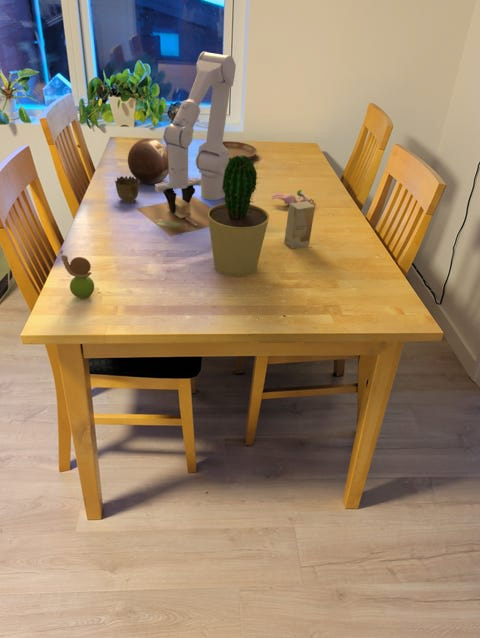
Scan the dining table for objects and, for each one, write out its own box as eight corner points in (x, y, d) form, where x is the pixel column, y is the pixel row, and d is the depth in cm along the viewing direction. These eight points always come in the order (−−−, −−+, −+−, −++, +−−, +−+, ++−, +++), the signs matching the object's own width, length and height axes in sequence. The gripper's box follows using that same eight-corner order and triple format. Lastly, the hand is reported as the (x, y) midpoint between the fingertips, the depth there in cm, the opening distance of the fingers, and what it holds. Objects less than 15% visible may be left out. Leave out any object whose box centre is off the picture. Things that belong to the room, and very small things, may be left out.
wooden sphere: (160, 193, 176) (159, 148, 168) (121, 185, 180) (117, 142, 171) (178, 179, 188) (178, 137, 179) (141, 172, 191) (139, 131, 183)
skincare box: (291, 249, 147) (296, 209, 140) (283, 243, 150) (288, 203, 143) (310, 245, 150) (316, 206, 143) (301, 239, 153) (307, 200, 146)
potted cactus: (245, 287, 129) (253, 169, 112) (195, 268, 135) (195, 154, 118) (274, 263, 140) (286, 152, 123) (227, 247, 146) (232, 139, 129)
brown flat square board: (194, 200, 173) (194, 196, 172) (231, 224, 158) (231, 220, 158) (136, 211, 162) (136, 208, 162) (170, 239, 148) (170, 235, 147)
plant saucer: (256, 166, 205) (257, 158, 203) (204, 163, 204) (205, 155, 202) (256, 150, 222) (256, 142, 220) (208, 147, 221) (208, 140, 219)
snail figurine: (69, 290, 123) (62, 245, 116) (96, 290, 124) (91, 245, 117) (65, 302, 119) (57, 256, 112) (93, 302, 120) (87, 256, 113)
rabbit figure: (310, 206, 178) (268, 198, 175) (315, 189, 175) (273, 181, 172) (314, 213, 173) (271, 205, 170) (319, 196, 170) (276, 188, 167)
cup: (135, 209, 164) (133, 185, 159) (113, 206, 165) (111, 182, 160) (143, 201, 170) (142, 177, 165) (122, 198, 171) (120, 174, 166)
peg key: (178, 208, 164) (178, 195, 161) (202, 225, 154) (203, 212, 152) (166, 210, 161) (166, 198, 159) (190, 228, 152) (190, 215, 149)
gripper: (161, 175, 145) (163, 219, 153) (206, 168, 152) (205, 211, 160) (151, 167, 150) (153, 211, 158) (195, 160, 157) (195, 203, 165)
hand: (178, 210), depth 159 cm, fingers closed on peg key, 4 cm apart
